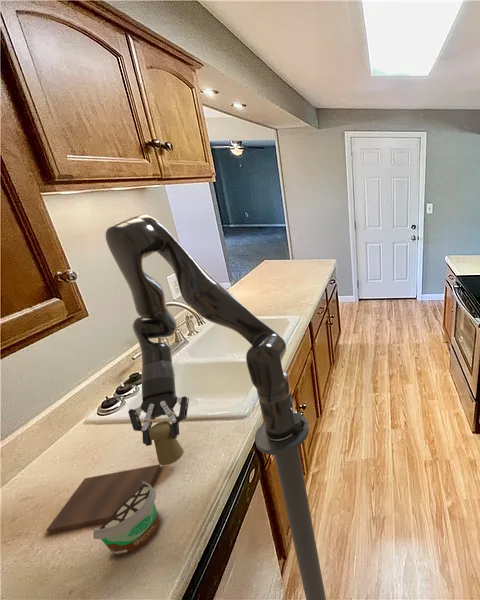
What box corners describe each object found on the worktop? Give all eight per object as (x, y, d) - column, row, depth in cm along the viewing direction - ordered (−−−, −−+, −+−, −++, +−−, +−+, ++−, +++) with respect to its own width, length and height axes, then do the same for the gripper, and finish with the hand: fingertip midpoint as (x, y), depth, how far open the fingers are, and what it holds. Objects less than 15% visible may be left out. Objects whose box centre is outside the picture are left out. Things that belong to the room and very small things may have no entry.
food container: (132, 568, 69) (115, 537, 65) (107, 562, 70) (90, 532, 66) (178, 511, 80) (166, 482, 77) (156, 507, 81) (144, 478, 78)
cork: (181, 444, 96) (169, 414, 92) (185, 456, 92) (174, 426, 88) (156, 455, 92) (143, 425, 88) (160, 469, 88) (146, 438, 84)
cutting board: (161, 468, 92) (160, 464, 92) (137, 515, 80) (135, 511, 79) (86, 482, 89) (84, 478, 88) (48, 534, 76) (46, 530, 75)
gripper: (121, 384, 87) (122, 450, 82) (183, 370, 93) (188, 432, 87) (133, 389, 94) (135, 450, 88) (191, 376, 99) (196, 433, 93)
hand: (161, 441), depth 88 cm, fingers closed on cork, 5 cm apart
